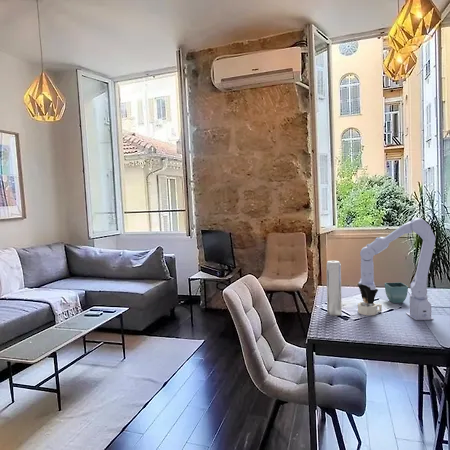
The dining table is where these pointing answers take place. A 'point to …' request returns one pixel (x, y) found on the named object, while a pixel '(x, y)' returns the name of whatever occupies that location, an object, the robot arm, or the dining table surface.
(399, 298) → the flower pot
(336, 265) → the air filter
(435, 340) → the dining table surface
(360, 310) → the press carafe
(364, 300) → the plunger
